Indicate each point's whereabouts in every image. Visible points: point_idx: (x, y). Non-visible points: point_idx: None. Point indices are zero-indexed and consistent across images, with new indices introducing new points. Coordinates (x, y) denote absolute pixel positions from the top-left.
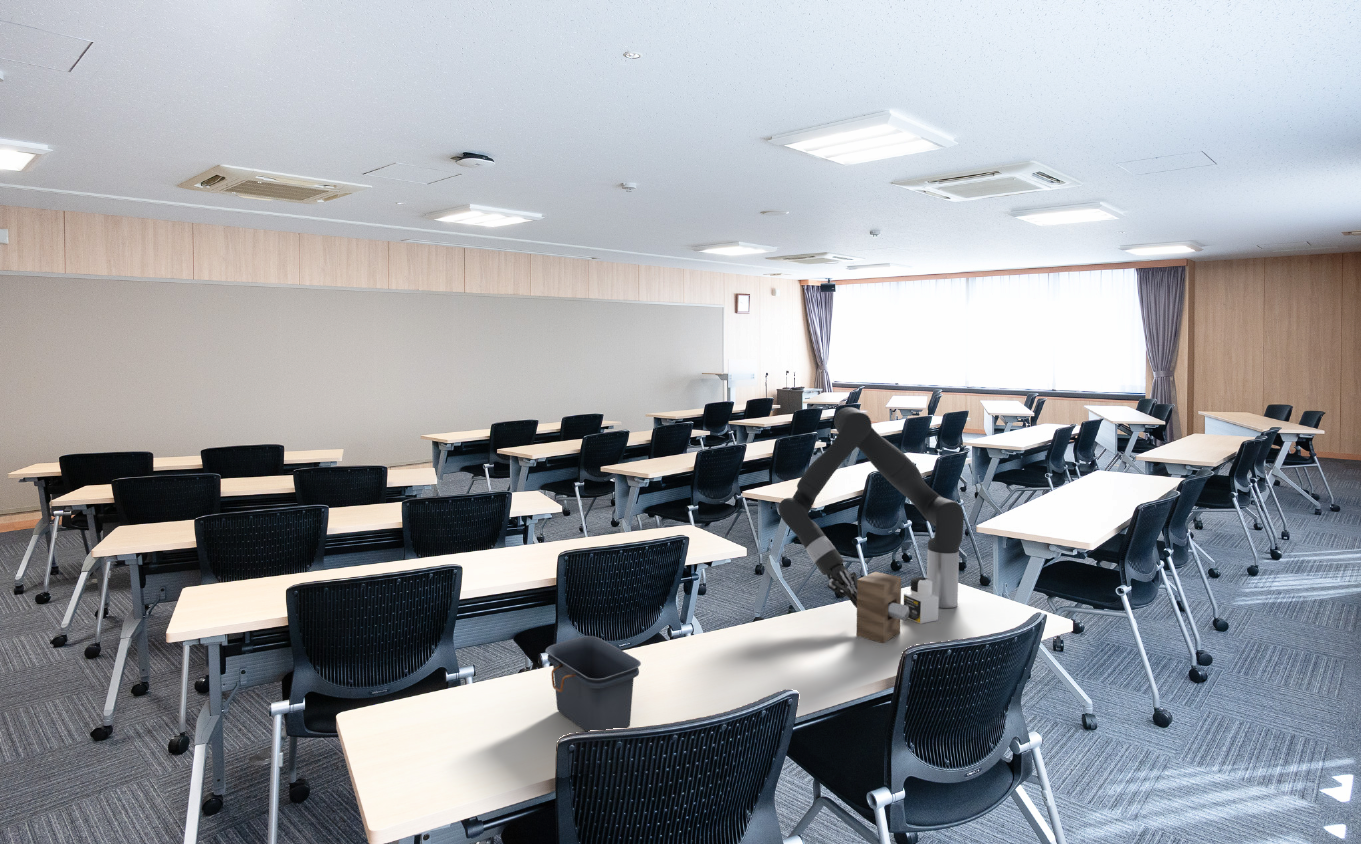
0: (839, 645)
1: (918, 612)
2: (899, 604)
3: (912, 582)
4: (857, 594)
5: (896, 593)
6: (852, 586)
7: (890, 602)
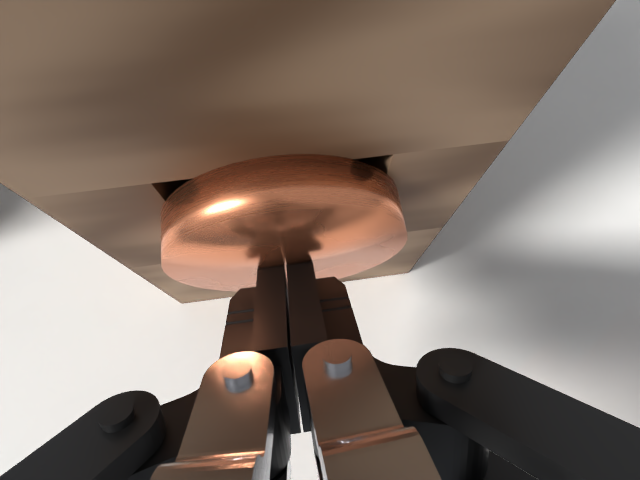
0: (604, 242)
1: None
2: None
3: None
4: (537, 97)
5: None
6: (245, 433)
7: None
